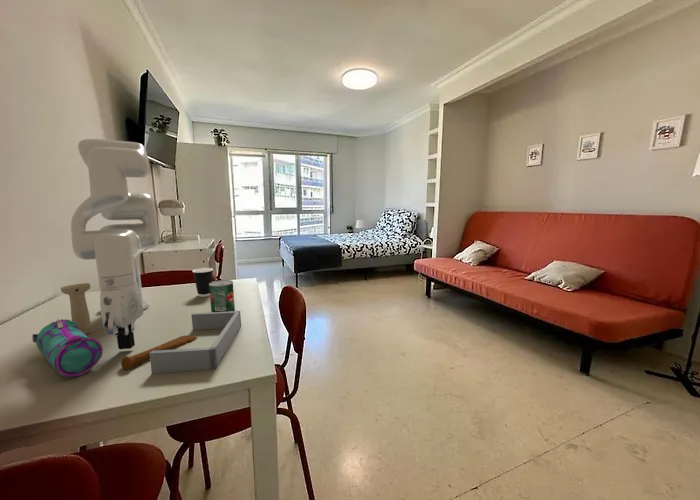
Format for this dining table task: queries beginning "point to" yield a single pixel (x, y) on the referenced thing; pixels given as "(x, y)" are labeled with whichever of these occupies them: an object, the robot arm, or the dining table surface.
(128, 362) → the primitive tool
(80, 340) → the pencil case
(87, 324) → the handle
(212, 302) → the canned tomato
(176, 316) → the dining table surface
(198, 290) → the dixie cup
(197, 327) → the box
